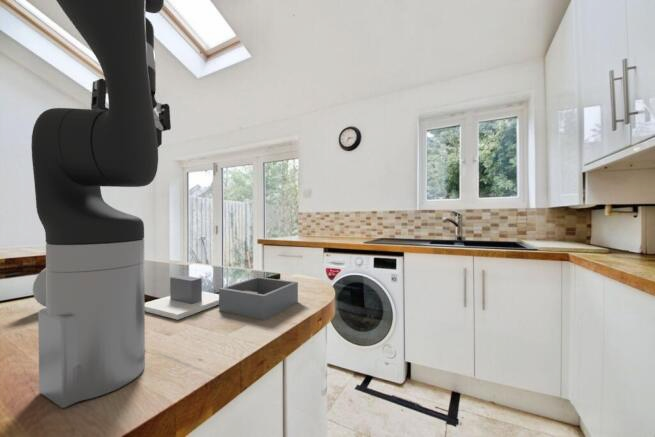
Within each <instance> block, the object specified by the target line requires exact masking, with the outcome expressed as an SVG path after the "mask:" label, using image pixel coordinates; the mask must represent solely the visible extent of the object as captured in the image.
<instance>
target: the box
mask: <svg viewBox="0 0 655 437" xmlns="http://www.w3.org/2000/svg"><path fill="white" fill-rule="evenodd" d="M244 290H245V291H252V292H258V294H257V293H251V292H245V291H244ZM298 291H299V282H298V281H291V280H286V279H285V280H283V279H275V278H269V277H261V276H256V277H252V278H249V279H246V280H242V281H239V282H236V283H232V284H230V285H226V286H223V287H220V288H218V294H219V305H218V311H219V312H223V313H224V312H225V313H229V314H233V315H238V316H243V317H247V318H251V319H256V320H261V321H266V320H267V319H269V318H271V317H273V316H275V315H277V314H279V313H281V312H282V311H284V310H286V309H288V308H290V307H291V306H293V305H295V304H297V303H298V302H299V297H298V296H299V292H298Z"/></svg>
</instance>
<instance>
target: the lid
mask: <svg viewBox="0 0 655 437" xmlns="http://www.w3.org/2000/svg"><path fill="white" fill-rule="evenodd" d="M169 278H170V281H169V282H170V286H169V288H170V289H169V291H170V295H168V296H164V297H162V298H161V297H160V298H157V299H153V300H151V301H150V300H149V301H147V302H146V301H145V313H146V312H147V313H151V314H154V315H158V316H162V317H167V318H168V319H169V318H170V319H173V320H181V319H185V318H186V317H190V316H192V315H195V314H197V313H199V312H202V311H206V310H208V309H211V308H213V307H216V306H219V293H214V292H208V291H207V292H206V291H203V287H202V285H203V283H202V282H203V281H202V280H203V278H202V277H197V276H196V277H195V276H189V275H183V274H181V275H180V274H179V275H175V276H172V277H169Z"/></svg>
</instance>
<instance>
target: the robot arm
mask: <svg viewBox="0 0 655 437" xmlns="http://www.w3.org/2000/svg"><path fill="white" fill-rule="evenodd" d="M55 1H56V2H57V4H58V5H59V7H60V8H61V10H62V11H63V12H64V14H65V15H66V16H67V18H68V19H69V21H70V22H71V24H72V25H73V26H74V27H75V29H76V30H77V32H78V33H79V34H80V35H81V37H82V38H83V40H84V41H85V42H86V44H87V45H88V46H89V49H90V50H91V51H92V52H93V55H94V57H95V58H96V59H97V62H98V63H99V65H100V67H101V70H102V74H103V76H104V78H99V79H96V80H95V81H92V89H91V103H90V108H91V109H90V108H89V109H88V108H74V107H72V108H70V107H54V108H53V107H52V108H49V109H46V110H44V111H43V112H42V113H41V114H39V116H38V117H37V118H36V120H35V123H34V124H33V129H32V134H31V161H32V171H33V172H32V173H33V182H34V194H35V195H34V196H35V204H36V205H35V208H36V213H37V216H38V219H39V221H40V223H41V226H42V227H43V229H44V232H45V268H46V306H45V307H46V308H45V307H44V308H41V309H39V311H38V316H37V318H38V319H37V322H38V392H39V393H40V394H41V395H43V396H44V397H46V398H47V399H48V400H50V401H52V402H53V403H54V404H56V406H57V405H58V406H59V407H60V408H61V409H63V408H67V407H70V406H71V405H73V404H75V403H78V402H79V403H80V402H81V401H82V402H83V401H86V400H90V399H94V398H97V397H100V396H103V395H106V394H108V393H110V392H113V391H116V390H117V389H120V388H122V387H124V386H126V385H127V384H129V383H131V382H132V381H134V380H135V379H136V378H137V377H139V376H140V375H141V373H142V372H143V371H144V369H145V366H146V365H145V364H146V361H145V360H146V346H145V344H146V336H145V335H146V334H145V333H146V332H145V331H146V330H145V329H146V328H145V324H146V323H145V322H146V321H145V320H146V319H145V314H146V311H145V303H146V301H145V224H144V221H143V220H142V218H140V217H139V216H137V215H132V214H130V213H126V212H123V211H121V210H118V209H117V208H114V207H113V206H111V205H110V204H108V203H107V202H106V201H105V200H104V198H103V194H102V190H101V187H111V188H112V187H114V188H115V187H119V188H138V187H140V188H142V187H145V186H148V185H150V184H151V183H152V182H153V181H154V179H155V177H156V175H157V172H158V166H159V148H160V146H161V145H162V143H163V138H162V136H163V132H165V131H169V130H172V129H171V128H172V124H171V123H172V122H171V111H170V110H171V108H170V105H169V104H168V103H164V104H163V103H161V102H160V103H159V102H158V101H157V100H156V97H155V95H156V90H157V88H156V86H157V85H156V84H157V83H156V79H157V78H156V77H157V76H156V75H157V74H156V71H157V70H156V65H157V64H156V63H157V62H156V56H155V30H154V25H153V23H152V21H151V20H150V19H148V18H147V17H146V13H149V14H158V13H159V12H161V11H162V9H163V8H164V4H165V0H55ZM107 99H108V107H107V106H106V101H107ZM155 110H156V111H155ZM156 112H157V113H158V114H157V113H156Z"/></svg>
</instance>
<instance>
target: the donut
mask: <svg viewBox="0 0 655 437" xmlns="http://www.w3.org/2000/svg"><path fill="white" fill-rule="evenodd" d="M32 294H33V295H32V296H33V298H34V299H35V300H36V302H37V303H39V304H40V305H41V306H43V307H46V267H45V268H43V269H42V270H41V271H40V272H39V273H38V275H36V277H35V280H34V282H33V285H32Z"/></svg>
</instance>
